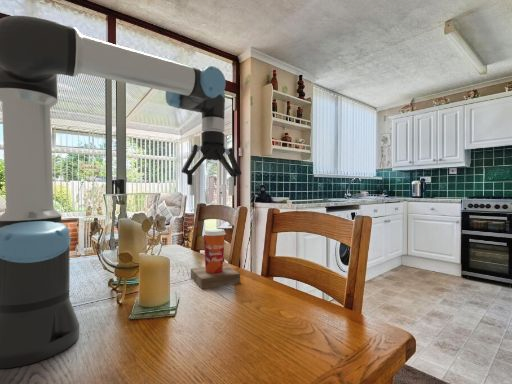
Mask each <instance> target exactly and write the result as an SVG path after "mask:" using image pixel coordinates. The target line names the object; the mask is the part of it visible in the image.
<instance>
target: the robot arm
mask: <svg viewBox="0 0 512 384" xmlns="http://www.w3.org/2000/svg"><path fill="white" fill-rule="evenodd" d="M79 74H82V75H87V76H93V77H97V78H102V79H106V80H107V79H108V80H111V81H115V82H121V83H125V84H131V85H134V86H135V85H136V86H140V87H145V88H149V89H154V90H158V91H164V92H165V102H166V103H167V105H168V106H170V107H173V108H177V109H178V110H179V109H181V110H187V111H191V112H196V113H200V114H201V131H202V132H201V145H197V144H194V145H192V146H191V152H190V154H189V156H188V158H187V159H186V161H185V163H184V165H183V167H182V170H181V173H182V174H185V175H186V177H187V178H186V180H187V181H186V183H187V185H188V186H189V194H190V196H195V195H196V194H195V193H196V191H195V189H196V186H195V184H196V175H195V174H194V172H196V170H198V168H199V167H200V166H201V165H202V164H203V162H204V161H206V160H207V161H219V163H220V164H221V165H222V166H223V167H224V169H225V170H226V172H227V173H228V174H229V176H228V196H234V187H237V186H236V185H237V177H238V176H241V175H242V171H241V168H240V166H239V164H238V162H237V159H236V157H235V155H234V149H233V147H229V148H225V134H224V132H225V109H226V108H225V107H226V106H225V104H226V99H225V97H226V95H225V93H226V92H225V89H226V85H227V84H226V83H227V82H226V77H225V75H224V73H223V72H222V71H221V70H220V68H218V67H216V66H211V65H210V66H207V67H204V68H203V69H200V68H198V67H197V68H196V67H193V66H190V65H186V64H182V63H178V62H175V61H173V60H169V59H165V58H162V57H159V56H155V55H152V54H148V53H145V52H141V51H139V50H138V51H137V50H135V49H131V48H128V47H125V46H120V45H116V44H113V43H111V42H106V41H103V40H99V39H96V38H93V37H89V36H86V35H83V34H81V32H80V31H79V30H78V29H77V28H76V27H74V26H70V25H67V24H64V23H60V22H57V21H53V20H50V19H46V18H40V17H35V16H29V15H27V16H26V15H9V16H4V17H2V18H0V102H1V108H2V109H1V110H2V113H1V114H2V136H3V137H2V138H3V141H2V142H3V161H4V164H3V165H4V190H5V193H4V195H5V211H4V212H3V213H2V214H1V215H0V369H9V368H11V369H12V368H17V367H22V366H27V365H30V364H34V363H38V362H41V361H43V360H46V359H49V358H51V357H53V356H56V355H57V354H59V353H62V352H63V351H65V350H67V349H69V348H70V347H71V346H72V345H74V344H75V343H77V340H78V339H79V337H80V322H79V320H78V317H77V314H76V312H75V310H74V307H73V304H72V302H71V299H70V282H71V281H70V280H71V279H70V275H71V274H70V258H71V257H70V250H71V249H70V246H71V243H72V241H71V240H72V238H71V234H70V229H69V227H68V226H67V225H66V224H64V223H62V214H61V213H60V212H58V211H57V210H56V209H55V207H54V187H53V159H52V158H53V156H52V155H53V154H52V133H51V132H52V129H51V127H52V126H51V125H52V124H51V123H52V122H51V121H52V120H51V109H52V107H54V106H55V105H56V104H58V75H63V76H69V77H74V78H75V77H76V76H78V75H79ZM199 151H200V152H201V153H202V155H201V156H200V158H198V159H197V161H196V162H195V163H194V164H193V165H192V163H193V160H194V159H195V157H196V155H197V153H198V152H199ZM224 154H226V155H227V158H228V160H229V162H230V163H229V162H228V160H227V158H226V157H225V156H224ZM191 165H192V167H191ZM189 168H190V169H189Z"/></svg>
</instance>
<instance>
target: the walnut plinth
mask: <svg viewBox="0 0 512 384" xmlns="http://www.w3.org/2000/svg"><path fill="white" fill-rule="evenodd" d="M190 279H191V280H192V281H193V282H195V284H196V285H197V286H198V287H200V289H210V288H215V287H222V286H228V285H229V286H230V285H235V284H240V283H241V273H239V271H237V270H235V269H234V268H232V267H230V266H229V265H227V264H223V269H222V272H220V273H214V274H212V273H207V272H206V267H205V266H203V267H196V268H190Z"/></svg>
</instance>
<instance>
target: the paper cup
mask: <svg viewBox="0 0 512 384" xmlns="http://www.w3.org/2000/svg"><path fill="white" fill-rule="evenodd" d="M202 235H203V244H204V245H203V246H204V249H203V250H204V261H205V262H204V264H205V266H204V267H206V272H207V273H212V274H214V273H220V272H222V269H223V265H224V254H225V236H226V235H227V233H226V231H225V229H224V228H223V229H222V228H207V229H204V231H203V233H202Z"/></svg>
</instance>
